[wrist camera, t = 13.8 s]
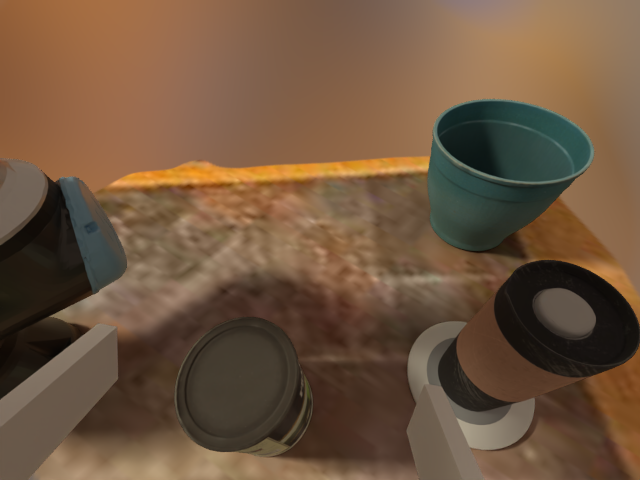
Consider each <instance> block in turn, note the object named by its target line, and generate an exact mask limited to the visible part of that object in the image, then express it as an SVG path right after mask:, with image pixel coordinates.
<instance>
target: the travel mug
mask: <svg viewBox="0 0 640 480" xmlns="http://www.w3.org/2000/svg"><path fill="white" fill-rule="evenodd" d="M639 343H640V326H639V323H638V319H637V317H636V315H635V313H634V311H633V309H632V308H631V306H630V305H629V303H628V302H627V301H626V299H625V298H624V297H623V296H622V295H621V294H620V293H619V292H618V291H617V290H616V289H615V288H614V287H613V286H612V285H611V284H609V283H608V282H607V281H605V280H604V279H602V278H601V277H599V276H598V275H596V274H594V273H593V272H591V271H589V270H587V269H584V268H582V267H580V266H577V265H574V264H571V263H567V262H562V261H556V260H540V261H534V262H530V263H527V264H525V265H522V266H521V267H519V268H517V269H516V270H515V271H514V272H513V274H512V275H511V276H510V277H509V278H508V280H507V281H506V282H505V283H504V284H503V285H502V286H501V287H500V288H499V289H498V290H497V292H496V293H495V294H494V295H493V296H492V297H491V298H490V299H489V300H488V301H487V302H486V304H485V305H484V306H483V307H482V308H481V309H480V310H479V311H478V312H477V313H476V314H475V316H474V317H473V318H472V319H471V320H470V321H469V322H468V323H467V324H466V325H465V326H464V328H463V329H462V330H461V331H460V333H459V334H458V335H457V337H456V338H455V339H454V341H453V342H452V343H451V345H450V346H449V347H448V349H447V350H446V351H445V353H444V354H443V356H442V357H441V359H440V361H439V365H438V377H439V381H440V384H441V386H442V388H443V390H444V392H445V393H446V394H447V396H448V397H449V398H450V399H451V400H452V401H453V402H454V403H456V404H457V405H459V406H460V407H462V408H464V409H467V410H470V411H475V412H481V411H488V410H492V409H495V408H499V407H503V406H507V405H511V404H514V403H518V402H522V401H525V400H528V399H531V398H534V397H537V396H539V395H542V394H545V393H547V392H550V391H553V390H555V389H558V388H561V387H563V386H566V385H569V384H572V383H574V382H577V381H580V380H582V379H585V378H588V377H590V376H593V375H596V374H599V373H601V372H604V371H607V370H609V369H612V368H615V367H617V366H619V365H621V364H623V363H625V362H626V361H628V360H629V359H630V358H632V356H633V355H634V354H635V353H636V351H637V349H638V347H639Z"/></svg>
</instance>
